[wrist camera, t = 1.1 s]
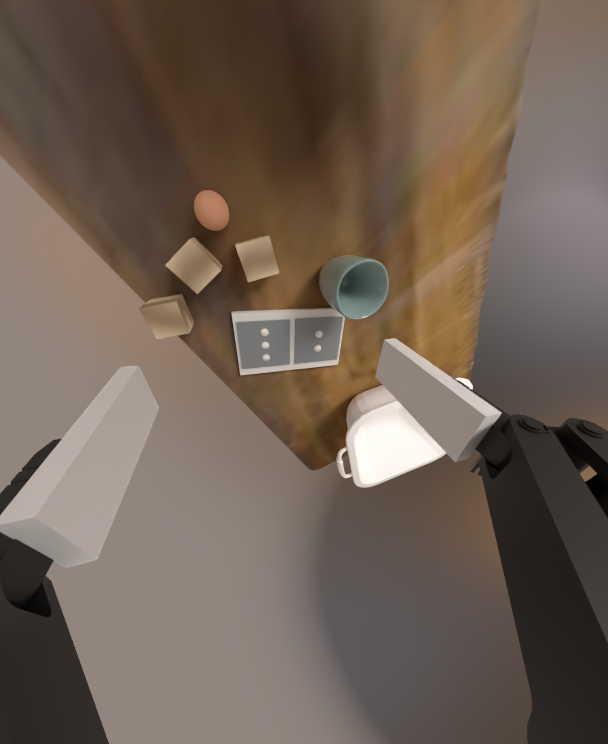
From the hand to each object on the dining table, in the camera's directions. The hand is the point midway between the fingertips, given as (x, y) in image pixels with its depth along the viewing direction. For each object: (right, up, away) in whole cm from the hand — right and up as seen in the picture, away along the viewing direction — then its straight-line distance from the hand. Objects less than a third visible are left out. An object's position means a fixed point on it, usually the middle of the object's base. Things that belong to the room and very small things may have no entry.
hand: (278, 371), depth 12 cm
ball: (-10, +21, +16) cm, 28 cm away
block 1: (-13, +15, +18) cm, 28 cm away
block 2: (-17, +7, +17) cm, 25 cm away
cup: (+7, +16, +25) cm, 30 cm away
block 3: (-6, +17, +20) cm, 27 cm away
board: (-1, +6, +29) cm, 29 cm away
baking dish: (+22, -9, +46) cm, 52 cm away
